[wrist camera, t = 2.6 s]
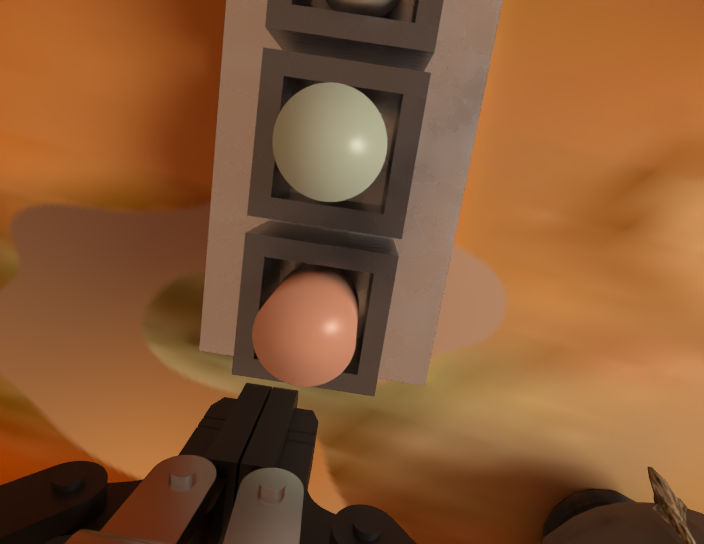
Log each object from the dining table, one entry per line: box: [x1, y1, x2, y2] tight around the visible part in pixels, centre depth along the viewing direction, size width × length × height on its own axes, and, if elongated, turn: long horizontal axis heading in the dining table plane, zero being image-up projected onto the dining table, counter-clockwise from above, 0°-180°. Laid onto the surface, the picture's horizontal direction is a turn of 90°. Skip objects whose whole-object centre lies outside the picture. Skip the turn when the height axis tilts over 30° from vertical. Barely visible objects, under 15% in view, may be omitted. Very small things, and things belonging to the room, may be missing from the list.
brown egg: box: [252, 264, 359, 387], centre depth 22 cm, size 4×4×5 cm
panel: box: [199, 0, 503, 396], centre depth 23 cm, size 14×26×6 cm, turn 172°
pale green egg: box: [272, 82, 387, 202], centre depth 20 cm, size 4×4×5 cm
